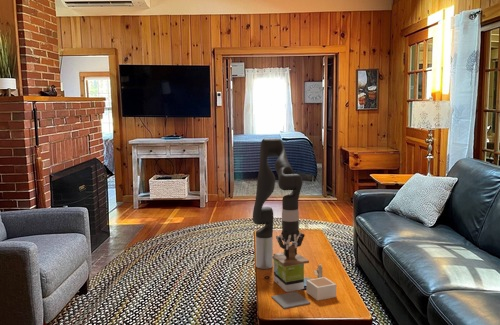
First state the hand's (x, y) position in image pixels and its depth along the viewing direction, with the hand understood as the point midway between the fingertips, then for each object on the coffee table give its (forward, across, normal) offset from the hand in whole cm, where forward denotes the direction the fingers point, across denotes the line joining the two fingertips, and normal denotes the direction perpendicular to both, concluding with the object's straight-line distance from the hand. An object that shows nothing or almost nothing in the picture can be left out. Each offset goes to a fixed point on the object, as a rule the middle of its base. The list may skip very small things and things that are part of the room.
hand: (290, 256), depth 197 cm
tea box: (+21, -7, -16) cm, 27 cm away
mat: (+21, 0, 0) cm, 21 cm away
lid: (+2, 0, 0) cm, 2 cm away
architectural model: (+21, -25, -17) cm, 37 cm away
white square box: (+21, -16, 0) cm, 26 cm away
